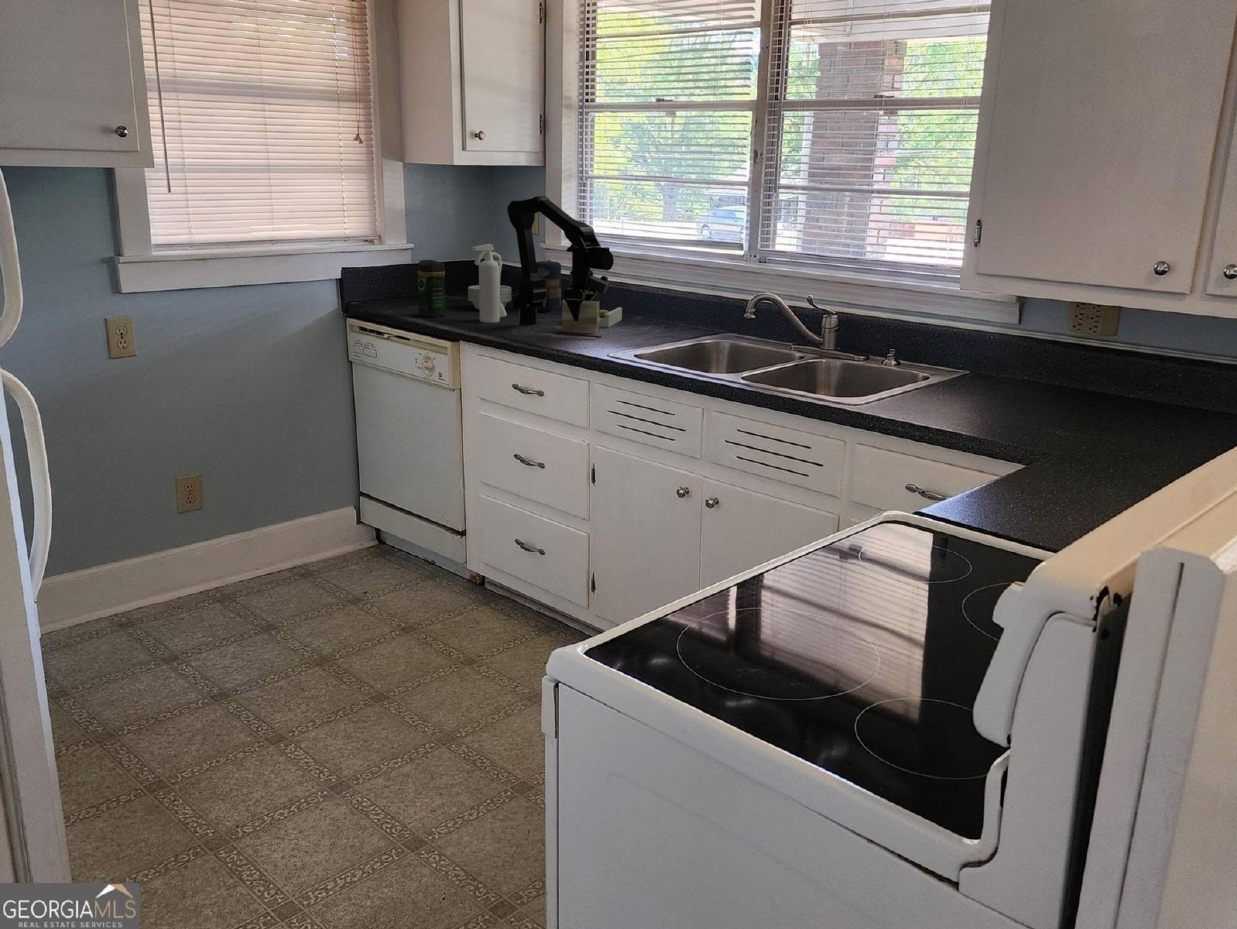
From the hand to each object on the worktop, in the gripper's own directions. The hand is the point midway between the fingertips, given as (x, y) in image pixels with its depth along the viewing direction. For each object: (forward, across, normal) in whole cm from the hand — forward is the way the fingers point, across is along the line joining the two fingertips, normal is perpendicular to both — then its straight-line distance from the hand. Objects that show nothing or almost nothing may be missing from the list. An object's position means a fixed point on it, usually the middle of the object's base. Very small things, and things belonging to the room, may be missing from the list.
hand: (580, 318), depth 326 cm
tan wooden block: (+5, 0, 0) cm, 5 cm away
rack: (+5, +19, +2) cm, 20 cm away
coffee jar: (+5, +16, +57) cm, 59 cm away
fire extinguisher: (+5, +14, +35) cm, 38 cm away
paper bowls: (+5, +38, +45) cm, 59 cm away
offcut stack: (+4, +15, +2) cm, 16 cm away
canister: (+5, +42, +25) cm, 49 cm away
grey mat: (+5, 0, 0) cm, 5 cm away
